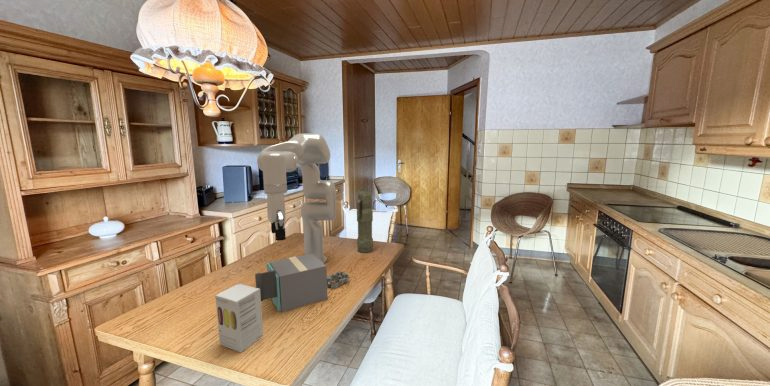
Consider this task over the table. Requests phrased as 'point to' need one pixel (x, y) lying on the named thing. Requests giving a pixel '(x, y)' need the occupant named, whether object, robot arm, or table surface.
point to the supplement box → (239, 317)
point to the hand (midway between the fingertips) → (278, 236)
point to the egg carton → (337, 279)
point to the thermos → (364, 221)
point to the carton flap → (269, 285)
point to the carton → (301, 281)
